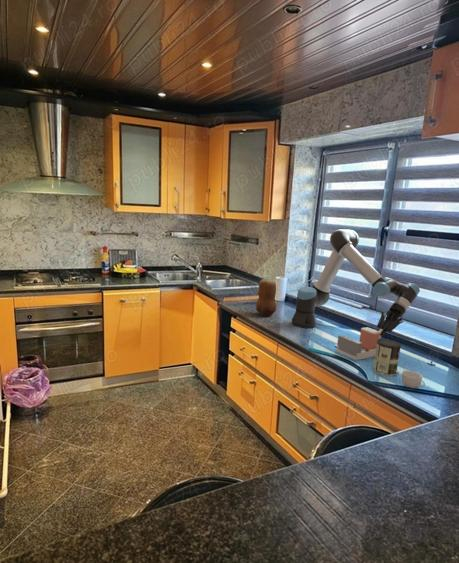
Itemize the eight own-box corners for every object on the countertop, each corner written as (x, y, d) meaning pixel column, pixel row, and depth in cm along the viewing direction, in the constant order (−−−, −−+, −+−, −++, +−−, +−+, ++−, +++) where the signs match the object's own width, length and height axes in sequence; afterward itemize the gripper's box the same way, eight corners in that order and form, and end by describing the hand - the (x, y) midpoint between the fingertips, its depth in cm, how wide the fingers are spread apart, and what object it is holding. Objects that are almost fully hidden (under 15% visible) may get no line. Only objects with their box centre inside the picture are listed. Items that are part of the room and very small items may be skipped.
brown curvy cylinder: (267, 312, 266) (270, 277, 262) (279, 317, 255) (282, 280, 251) (251, 313, 259) (254, 277, 255) (262, 318, 248) (266, 281, 244)
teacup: (396, 383, 162) (398, 371, 161) (407, 380, 166) (409, 369, 165) (417, 393, 154) (419, 381, 153) (429, 390, 158) (431, 378, 157)
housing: (364, 345, 209) (366, 331, 207) (384, 354, 198) (387, 338, 196) (336, 351, 197) (338, 335, 196) (356, 360, 186) (358, 343, 185)
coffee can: (393, 368, 179) (398, 340, 176) (398, 377, 169) (403, 347, 166) (371, 365, 181) (375, 337, 178) (374, 374, 171) (379, 344, 168)
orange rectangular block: (365, 344, 205) (367, 327, 203) (377, 349, 198) (380, 331, 196) (358, 345, 202) (361, 328, 200) (371, 350, 195) (373, 332, 193)
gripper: (412, 314, 204) (388, 347, 198) (391, 308, 215) (368, 339, 209) (408, 305, 200) (383, 339, 194) (386, 299, 211) (363, 331, 205)
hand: (375, 339), depth 202 cm, fingers closed
